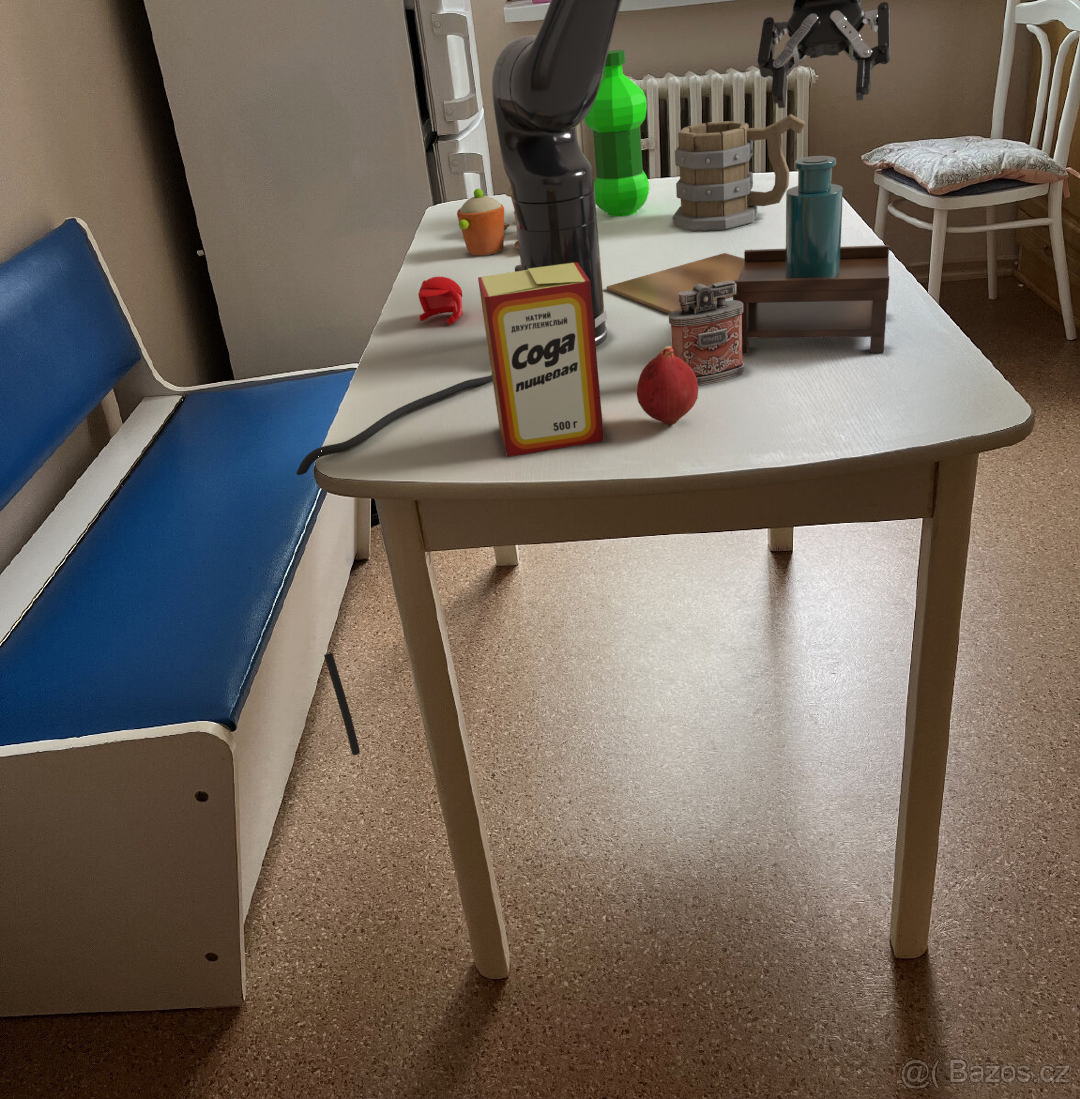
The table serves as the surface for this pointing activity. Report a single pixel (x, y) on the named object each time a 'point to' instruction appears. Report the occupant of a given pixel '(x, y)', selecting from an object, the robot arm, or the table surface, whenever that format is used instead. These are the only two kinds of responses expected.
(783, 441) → the table surface
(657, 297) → the placemat
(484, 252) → the toy tea set
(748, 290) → the rack
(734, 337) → the lighter
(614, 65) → the plastic bottle
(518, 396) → the baking soda box
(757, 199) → the tankard
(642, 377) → the onion
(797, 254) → the vase
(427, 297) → the red toy helmet
